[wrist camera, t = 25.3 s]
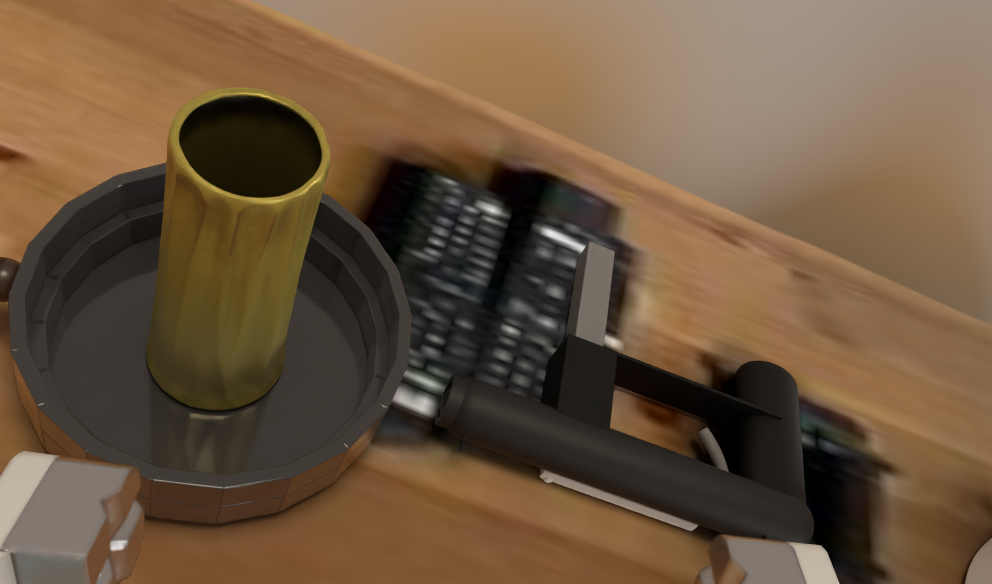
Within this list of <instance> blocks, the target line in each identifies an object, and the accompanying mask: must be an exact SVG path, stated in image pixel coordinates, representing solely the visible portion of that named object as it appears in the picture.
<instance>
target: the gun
mask: <svg viewBox="0 0 992 584" xmlns="http://www.w3.org/2000/svg"><path fill="white" fill-rule="evenodd" d="M614 253H615V251H612V250H610V249H607V248H605V247H602V246H600V245H598V244H595V243H593V242H590V241H589V243H588V244H587V246H586V247H585V249H584V250H583V252H582V253H581V255H580V256H579V258H578V261H577V267H576V273H575V280H574V286H573V292H572V299H571V305H570V311H569V318H568V324H567V330H566V337H565V339H564V341H563V342H562V343H561V345H560V346H559V347H558V349H557V350H556V352H555V353H554V354H553V356H552V357H551V358H550V360H549V361H548V365H547V370H546V376H545V382H544V388H543V394H542V400H541V402H538V401H535V400H532V399H530V398H527V397H524V396H522V395H519V394H516V393H514V392H511V391H508V390H505V389H503V388H500V387H497V386H495V385H492V384H489V383H486V382H484V381H481V380H477V379H464V378H461V377H458V376H455V375H452V376H451V378H450V379H449V381H448V383H447V385H446V387H445V390H444V392H443V395H442V397H441V400H440V403H439V406H438V409H437V413H436V417H435V425H437V426H440V427H443V428H446V429H447V430H448V432H449V433H450V434H451V435H453V436H454V437H456V438H457V439H460V440H461V441H462V444H461V441H460V444H461V448H460V452H461V453H462V451H463V447H464V443H465V442H468V443H471V444H473V445H476V446H479V447H482V448H485V449H488V450H490V451H493V452H496V453H499V454H502V455H504V456H507V457H510V458H513V459H516V460H518V461H521V462H524V463H527V464H530V465H532V466H535V467H538V468H541V470H540V476H539V477H540V478H542V479H543V481H544V482H546V483H551V482H554V483H557V484H559V485H562V486H565V487H568V488H571V489H573V490H576V491H579V492H582V493H585V494H588V495H590V496H593V497H596V498H599V499H602V500H604V501H607V502H610V503H613V504H616V505H618V506H621V507H624V508H627V509H630V510H633V511H635V512H638V513H641V514H644V515H647V516H649V517H652V518H655V519H658V520H661V521H664V522H666V523H669V524H672V525H675V526H678V527H680V528H683V529H686V530H689V531H692V530H694V529H695V528H696V527H698V525H700V526H703V527H706V528H709V529H712V530H714V531H717V532H720V533H723V534H726V535H732V536H741V537H751V538H760V539H770V540H779V541H784V542H794V543H803V544H808V543H809V541H810V540H811V537H812V535H813V531H814V521H813V517H812V514H811V512H810V510H809V509H808V507H807V506H806V496H805V483H804V470H803V456H802V443H801V430H800V417H799V403H798V390H797V384H796V382H795V380H794V378H793V377H792V376H791V375H790V374H789V373H788V372H787V371H786V370H785V369H783V368H782V367H780V366H778V365H776V364H773V363H770V362H766V361H751V362H747V363H745V364H743V365H742V366H740V367H739V369H738V370H737V373H736V397H733V396H730V395H728V394H725V393H723V392H720V391H717V390H715V389H712V388H710V387H707V386H704V385H702V384H699V383H697V382H694V381H691V380H689V379H686V378H684V377H681V376H678V375H676V374H673V373H671V372H668V371H665V370H663V369H660V368H658V367H655V366H652V365H650V364H647V363H645V362H642V361H639V360H637V359H634V358H631V357H629V356H626V355H624V354H621V353H618V352H616V351H614V350H611V349H609V348H606V347H604V338H605V330H606V321H607V313H608V304H609V296H610V287H611V279H612V270H613V262H614ZM614 385H616V386H619V387H622V388H624V389H627V390H630V391H632V392H635V393H638V394H640V395H643V396H645V397H648V398H651V399H653V400H656V401H659V402H661V403H664V404H667V405H669V406H672V407H675V408H677V409H680V410H683V411H685V412H688V413H690V414H693V415H696V416H698V417H701V418H704V419H706V420H709V421H712V422H714V423H717V424H720V425H722V426H725V427H728V428H730V429H733V430H735V431H737V475H736V474H733V473H730V472H729V471H728V467H727V464H726V461H725V459H724V456H723V454H722V452H721V449H720V447H719V445H718V444H717V442H716V440H715V438H714V437H713V435H712V433H711V432H710V430H709V429H708V428H705V429H703V430H702V431H700V432H699V433H698V434H697V435H698V436H699V438H700V439H701V441H702V443H703V444H704V446H705V448H706V449H707V451H708V453H709V455H710V457H711V459H712V461H713V464H714V466H715V467H714V466H711V465H708V464H706V463H703V462H700V461H698V460H695V459H692V458H690V457H687V456H684V455H681V454H679V453H676V452H673V451H671V450H668V449H665V448H662V447H660V446H657V445H654V444H652V443H649V442H646V441H643V440H641V439H638V438H635V437H633V436H630V435H627V434H625V433H622V432H619V431H616V430H614V429H611V428H610V420H611V411H612V401H613V391H614ZM459 447H460V446H459Z"/></svg>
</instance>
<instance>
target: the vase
mask: <svg viewBox="0 0 992 584" xmlns="http://www.w3.org/2000/svg"><path fill="white" fill-rule="evenodd" d="M329 166H330V148H329V144H328V141H327V138H326V135H325V132H324V130H323V128H322V127H321V125H320V124H319V122H318V121H317V120H316V119H315V118H314V117H313V116H312V115H311V114H310V113H309V112H308V111H307V110H305V109H304V108H303V107H301V106H300V105H299V104H297V103H295V102H294V101H292V100H290V99H288V98H285V97H283V96H280V95H278V94H275V93H272V92H269V91H265V90H261V89H255V88H222V89H217V90H213V91H209V92H206V93H203V94H201V95H199V96H197V97H195V98H193V99H192V100H190V101H189V102H188V103H186V104H185V105H184V106H183V107H182V108H181V109H180V110H179V111H178V113H177V114H176V116H175V118H174V120H173V122H172V125H171V127H170V131H169V135H168V144H167V164H166V180H165V194H164V210H163V221H162V230H161V240H160V250H159V262H158V270H157V280H156V290H155V298H154V304H153V310H152V318H151V330H150V333H149V335H148V338H147V342H146V359H147V363H148V366H149V369H150V372H151V374H152V376H153V378H154V379H155V381H156V382H157V383H158V385H159V386H160V387H161V388H162V389H163V390H164V391H165V392H166V393H168V394H169V395H170V396H172V397H173V398H175V399H176V400H178V401H180V402H182V403H184V404H186V405H189V406H192V407H195V408H200V409H206V410H229V409H234V408H238V407H241V406H244V405H247V404H249V403H252V402H254V401H256V400H257V399H259V398H261V397H262V396H263V395H265V394H266V393H267V392H268V391H269V390H270V389H271V387H272V386H273V385H274V384H275V383H276V381H277V380H278V379H279V377H280V375H281V373H282V371H283V368H284V364H285V358H286V338H287V330H288V325H289V321H290V317H291V313H292V308H293V304H294V298H295V294H296V289H297V284H298V280H299V275H300V271H301V267H302V264H303V260H304V256H305V252H306V248H307V245H308V242H309V238H310V235H311V231H312V227H313V224H314V220H315V217H316V213H317V209H318V206H319V203H320V200H321V196H322V193H323V189H324V185H325V181H326V178H327V174H328V171H329Z"/></svg>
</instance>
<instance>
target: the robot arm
mask: <svg viewBox="0 0 992 584" xmlns="http://www.w3.org/2000/svg"><path fill="white" fill-rule="evenodd" d="M140 487H141V478H140V471H139V468H138V467H135V466H131V465H124V464H117V463H110V462H103V461H96V460H89V459H82V458H75V457H68V456H62V455H61V456H58V455H51V454H44V453H36V452H29V451H21V452H20V453H19V454H17V455H16V456H15V457H13V458H12V459H11V460H10V462H9V463H8V465H7V466H6V468H5V469H4V471H3V472H2V474H1V475H0V584H120V583H121V582H123V581H124V580H125V579H127V578H128V577H130V575H131V573H132V570H133V568H134V565H135V563H136V561H137V558H138V554H139V551H140V547H141V543H142V539H143V532H144V508H143V507H142V506H141V505H140V504H139V503H138V502H137V501H136V500H135V498H136V496H137V494H138V491H139V489H140ZM708 553H709V558H710V562H711V564H710V565H708V566H706V567H705V568H703V569H701V570H700V571H699V572H698V574H697V577H696V579H695V582H694V584H839V581H838V579H837V576H836V574H835V571H834V569H833V566H832V564H831V561H830V559H829V556H828V554H827V552H826V551H825V549H824V548H823V547H822V546H820V545H811V544H803V543H794V542H784V541H779V540H770V539H760V538H751V537H741V536H732V535H722V534H719V535H718V536H717V537H716V538H714V539H713V541H712V543H711V546H710V548H709V550H708ZM965 584H992V538H991V539H990V540H989V541H988V542H987V543H986V544H985V545H983V546H982V547H981V548H980V550H979V551H978V552H977V553H976V555H975V556H974V558H973V560H972V562H971V564H970V566H969V569H968V572H967V576H966V580H965Z"/></svg>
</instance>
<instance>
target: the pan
mask: <svg viewBox="0 0 992 584" xmlns="http://www.w3.org/2000/svg"><path fill="white" fill-rule="evenodd" d="M166 164H167V163H163V164H159V165H155V166H151V167H147V168H143V169H139V170H135V171H131V172H127V173H123V174H119V175H116V176H114V177H112V178H110V179H108V180H107V181H105V182H103V183H101V184H100V185H98V186H96V187H94V188H93V189H91V190H89V191H87V192H85V193H84V194H82V195H80V196H78V197H77V198H75V199H73V200H71V201H69V202H68V203H67V204H65V205H64V206H63V207H62V208H61V209H60V210H59V212H58V213H57V214H56V215H55V216H54V217H53V218H52V219H51V220H50V221H49V222H48V223H47V225H46V226H45V227H44V228H43V229H42V230H41V231H40V232H39V233H38V234H37V235H36V236H35V238H34V239H33V240H32V241H31V242H30V243H29V245H28V246H27V248H26V251H25V254H24V256H23V259H22V261H21V264H20V266H19V269H18V271H17V274H16V277H15V279H14V282H13V284H12V287H11V289H10V292H9V294H8V295H9V297H8V308H9V332H10V352H11V357H12V362H13V366H14V371H15V376H16V381H17V386H18V391H19V395H20V399H21V401H22V403H23V405H24V407H25V410H26V412H27V414H28V416H29V418H30V420H31V422H32V424H33V426H34V428H35V430H36V432H37V434H38V436H39V438H40V441H41V443H42V445H43V447H44V448H46V450H47V451H48V452H49V453H50V454H51V455H58V456H61V455H62V456H68V457H75V458H82V459H89V460H96V461H103V462H110V463H117V464H124V465H131V466H135V467H138V468H139V471H140V478H141V487H140V489H139V491H138V494H137V496H136V498H135V500H136V501H137V502H138V503H139V504H140V505H141V506H142V507H143V508H144V514H145V515H147V516H151V517H156V518H165V519H174V520H184V521H193V522H202V523H211V524H215V523H223V522H228V521H233V520H239V519H244V518H249V517H255V516H260V515H266V514H271V513H276V512H280V511H282V510H284V509H286V508H288V507H290V506H291V505H293V504H295V503H297V502H299V501H301V500H303V499H305V498H307V497H309V496H311V495H312V494H314V493H316V492H318V491H320V490H322V489H324V488H326V487H328V486H330V484H332V483H333V482H334V481H335V480H336V479H337V478H338V477H339V476H340V475H341V474H342V473H343V472H344V471H345V470H346V469H347V468H348V467H349V466H350V465H351V464H352V463H353V462H354V460H355V459H356V458H357V457H358V456H359V455H360V454H361V453H362V452H363V451H364V450H365V449H366V448H367V447H368V445H369V444H370V442H371V440H372V438H373V436H374V434H375V432H376V431H377V429H378V427H379V425H380V423H381V421H382V419H383V417H384V416H385V414H386V412H387V410H388V408H389V406H390V403H391V401H392V399H393V397H394V395H395V392H396V390H397V388H398V386H399V384H400V381H401V379H402V377H403V375H404V373H405V370H406V368H407V366H408V363H409V351H410V334H411V318H412V316H411V311H410V308H409V305H408V301H407V298H406V295H405V291H404V288H403V285H402V281H401V278H400V274H399V271H398V269H397V267H396V266H395V264H394V263H393V261H392V260H391V258H390V257H389V256H388V254H387V253H386V251H385V250H384V248H383V247H382V245H381V244H380V242H379V241H378V240H377V238H376V237H375V235H374V234H373V232H372V231H371V230H370V229H369V228H368V227H367V226H366V225H365V224H364V223H362V222H361V221H360V220H359V219H357V218H356V217H355V216H354V215H353V214H351V213H350V212H349V211H348V210H347V209H345V208H344V207H343V206H342V205H341V204H339V203H338V202H337V201H336V200H335V199H333V198H332V197H330V196H329V195H327V194H325V193H322V196H321V200H320V203H319V206H318V209H317V213H316V217H315V220H314V224H313V227H312V231H311V235H310V238H309V242H308V245H307V248H306V252H305V256H304V260H303V264H302V267H301V271H300V275H299V280H298V284H297V289H296V294H295V298H294V304H293V308H292V313H291V317H290V321H289V325H288V330H287V338H286V358H285V364H284V368H283V371H282V373H281V375H280V377H279V379H278V380H277V381H276V383H275V384H274V385H273V386H272V387H271V389H270V390H269V391H268V392H267V393H266V394H265V395H263V396H262V397H261V398H259V399H257V400H256V401H254V402H252V403H249V404H247V405H244V406H241V407H238V408H234V409H229V410H206V409H200V408H195V407H192V406H189V405H186V404H184V403H182V402H180V401H178V400H176V399H175V398H173V397H172V396H170V395H169V394H168V393H166V392H165V391H164V390H163V389H162V388H161V387H160V386H159V385H158V383H157V382H156V381H155V379H154V378H153V376H152V374H151V372H150V369H149V366H148V363H147V359H146V342H147V338H148V335H149V333H150V330H151V318H152V310H153V304H154V298H155V290H156V280H157V270H158V262H159V250H160V240H161V230H162V221H163V210H164V194H165V180H166Z"/></svg>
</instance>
